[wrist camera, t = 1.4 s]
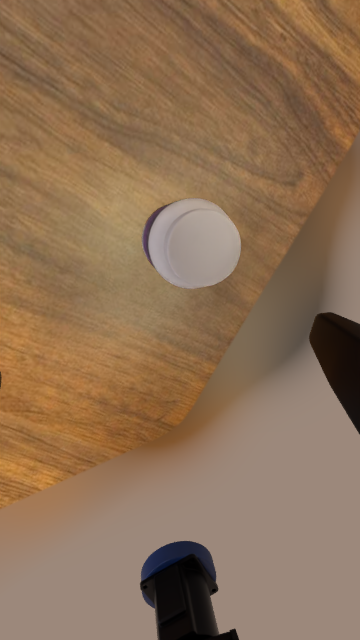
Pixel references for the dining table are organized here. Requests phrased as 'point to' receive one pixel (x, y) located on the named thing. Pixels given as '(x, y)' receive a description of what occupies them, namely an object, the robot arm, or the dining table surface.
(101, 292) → the dining table surface
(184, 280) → the pill bottle
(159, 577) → the robot arm
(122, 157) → the dining table surface
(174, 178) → the dining table surface
